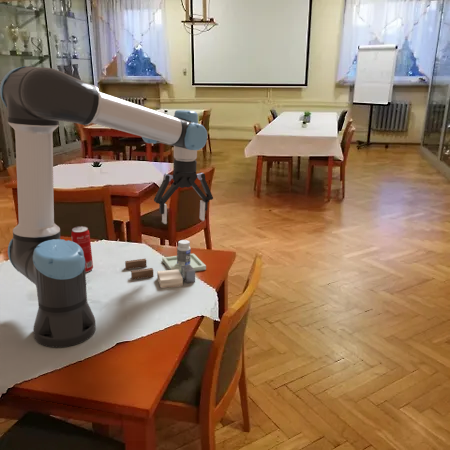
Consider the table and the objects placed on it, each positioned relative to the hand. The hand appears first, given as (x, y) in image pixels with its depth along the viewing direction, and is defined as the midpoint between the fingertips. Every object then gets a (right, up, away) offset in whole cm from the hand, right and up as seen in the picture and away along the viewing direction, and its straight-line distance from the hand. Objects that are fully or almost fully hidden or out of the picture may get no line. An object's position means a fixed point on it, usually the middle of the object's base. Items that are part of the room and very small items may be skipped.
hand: (183, 221), depth 154 cm
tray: (0, -16, +5) cm, 17 cm away
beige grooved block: (-4, -20, -7) cm, 22 cm away
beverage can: (-34, -17, -1) cm, 38 cm away
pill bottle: (0, -15, +5) cm, 16 cm away
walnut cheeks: (-15, -17, -1) cm, 23 cm away
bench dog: (+2, -19, -5) cm, 20 cm away
